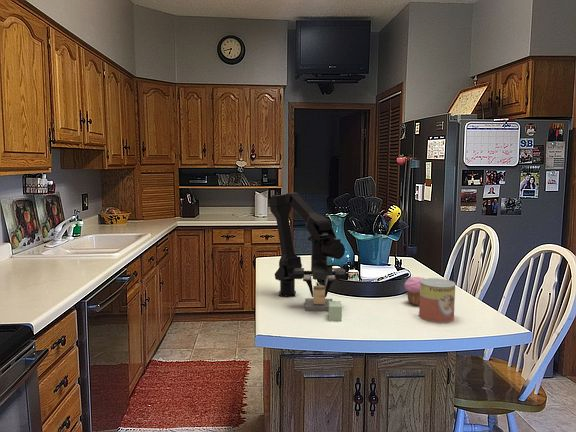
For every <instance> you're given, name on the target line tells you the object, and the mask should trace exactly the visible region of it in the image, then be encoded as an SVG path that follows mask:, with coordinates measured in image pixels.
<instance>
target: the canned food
mask: <svg viewBox="0 0 576 432" xmlns="http://www.w3.org/2000/svg"><path fill="white" fill-rule="evenodd" d="M455 300H456V282H454V281H453V280H449V279H444V278H439V277H438V278H435V277H431V278H425V279H422V280H421V281H420V305H418V306H419V309H418V311H419V312H418V317H419V318H420V319H421V320H423V321H426V322H428V323H433V324H447V323H452V322H453V321H454V320H455Z"/></svg>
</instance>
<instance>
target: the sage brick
mask: <svg viewBox="0 0 576 432" xmlns="http://www.w3.org/2000/svg"><path fill="white" fill-rule="evenodd" d="M342 307H343V306H342V302H341V300H337V301H336V300H333V301H329V311H328V320H329V321H328V322H342V317H343V313H342V312H343V310H342V309H343V308H342Z"/></svg>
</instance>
